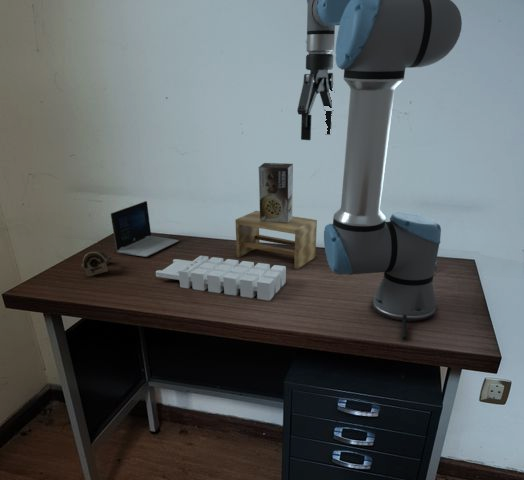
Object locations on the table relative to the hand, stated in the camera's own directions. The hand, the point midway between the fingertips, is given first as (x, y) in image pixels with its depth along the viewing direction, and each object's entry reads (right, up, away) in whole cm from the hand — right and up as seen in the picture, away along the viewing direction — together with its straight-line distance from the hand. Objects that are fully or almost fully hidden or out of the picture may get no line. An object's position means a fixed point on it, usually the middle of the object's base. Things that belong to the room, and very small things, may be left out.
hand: (316, 137), depth 147 cm
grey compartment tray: (-28, -44, -6) cm, 52 cm away
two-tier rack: (-12, -33, +12) cm, 37 cm away
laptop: (-55, -28, +22) cm, 65 cm away
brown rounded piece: (-65, -39, +4) cm, 76 cm away
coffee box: (-12, -23, +6) cm, 27 cm away
